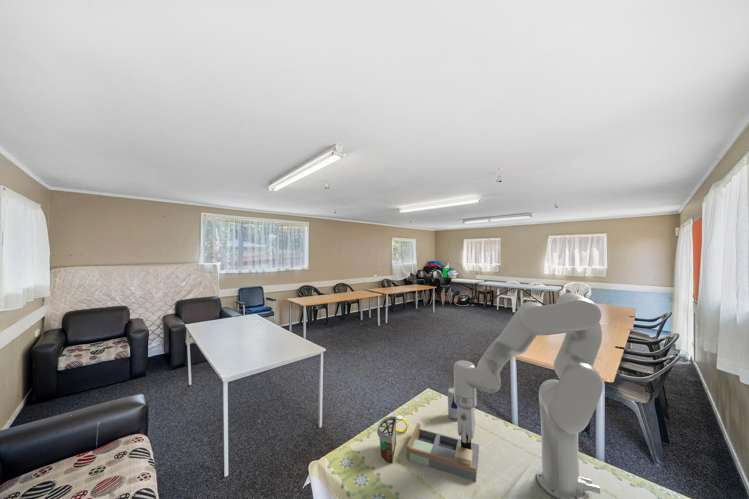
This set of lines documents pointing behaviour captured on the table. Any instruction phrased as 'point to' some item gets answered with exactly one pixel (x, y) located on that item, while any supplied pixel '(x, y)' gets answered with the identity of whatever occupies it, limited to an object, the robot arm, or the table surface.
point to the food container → (387, 438)
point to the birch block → (463, 455)
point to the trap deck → (440, 453)
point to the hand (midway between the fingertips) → (466, 450)
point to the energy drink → (452, 405)
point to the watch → (401, 420)
